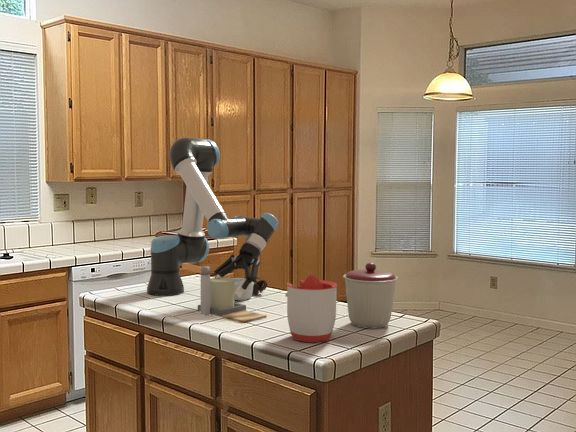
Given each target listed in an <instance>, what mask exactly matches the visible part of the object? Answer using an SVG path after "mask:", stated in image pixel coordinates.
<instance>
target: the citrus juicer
mask: <svg viewBox="0 0 576 432" xmlns="http://www.w3.org/2000/svg"><path fill="white" fill-rule="evenodd" d="M286 286H287V289H286V290H287V292H286V293H285V297H286V298H287V299H286V300H287V301H286V302H287V304H286V305H287V306H286V307H287V308H286V310H287V311H286V313H287V314H286V315H287V323H288V327H289V331H290V333H291V334H290V335H291V337H292V338H293V339H295V341H296V340H297V341H299V342H300V341H301V342H307V343H311V344H312V343H313V344H317V343H319V342H326V341H328V340H330V338H331V336H332V334H333V331H334V327H335V322H336V320H337V319H336V317H337V287H338V283H337V282H334V281H331V280H323V279H319V278H318V277H317V276H316V275H314V273H311V274H309V275H308V276H307V277H306V278H305V279H300V280H299V286H297V287H295V286H294V284H292V283H290V282H287V283H286Z"/></svg>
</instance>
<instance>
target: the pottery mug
mask: <svg viewBox="0 0 576 432" xmlns="http://www.w3.org/2000/svg"><path fill="white" fill-rule="evenodd" d="M244 278H246V276H245V277H244ZM267 287H268V282H267V280H265V279H261V278H260V277H258V276H257V280H256V282H254V285H253V293H252V296H259V293H261V294H262V293H263V292H264V291H265V290H266V289H267Z"/></svg>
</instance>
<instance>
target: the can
mask: <svg viewBox="0 0 576 432" xmlns="http://www.w3.org/2000/svg"><path fill="white" fill-rule="evenodd" d="M234 302H235V301H234V279H233V277H227V276H226V277H225V276H224V277H218V278H215V277H213V278H212V277H211V278H210V307H211V308H216V309H220V310H222V309H227V308H231V307H234Z"/></svg>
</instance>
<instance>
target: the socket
mask: <svg viewBox="0 0 576 432" xmlns="http://www.w3.org/2000/svg"><path fill="white" fill-rule="evenodd" d="M210 279H211V274H208V275H202V274H200V304H198V305H197V311H199V312H200V315H202V316H208V315H214V316H219V317H222V315H226V314H230V313H235V312H239V311H243V310H245V311H247V304H244V303H238V302H235V301H234V307H231V308H227V309H222V310H220V309H216V308H211V307H210Z"/></svg>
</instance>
